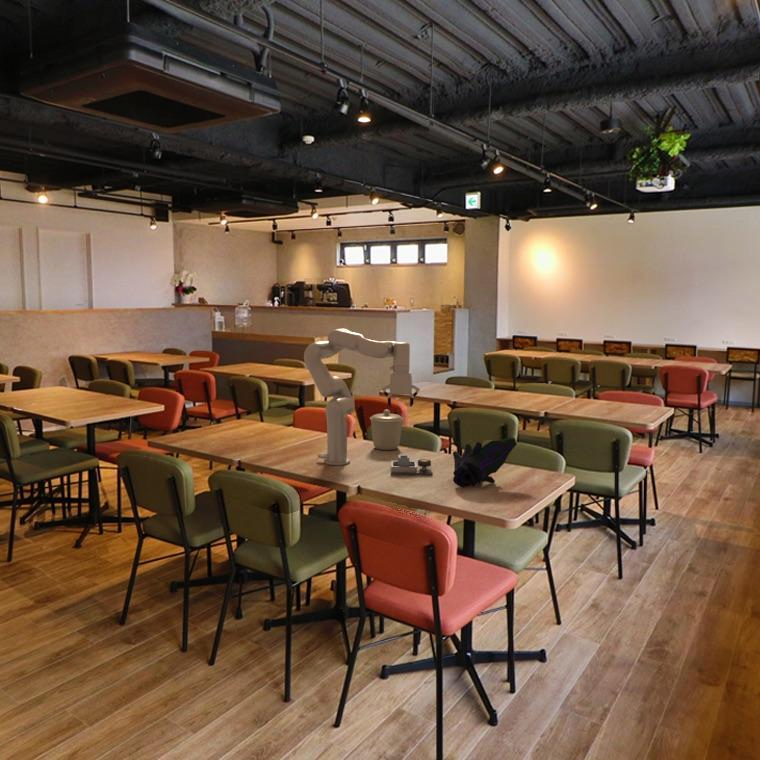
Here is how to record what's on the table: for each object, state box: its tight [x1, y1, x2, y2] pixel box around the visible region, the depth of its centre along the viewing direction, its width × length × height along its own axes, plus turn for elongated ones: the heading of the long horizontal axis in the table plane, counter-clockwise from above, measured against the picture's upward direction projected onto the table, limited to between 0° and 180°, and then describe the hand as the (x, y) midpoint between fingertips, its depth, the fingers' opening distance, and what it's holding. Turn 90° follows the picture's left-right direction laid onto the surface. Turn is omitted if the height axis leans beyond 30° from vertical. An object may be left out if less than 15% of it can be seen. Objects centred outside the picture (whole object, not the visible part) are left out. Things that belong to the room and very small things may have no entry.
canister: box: [369, 409, 405, 451], centre depth 336 cm, size 18×18×21 cm
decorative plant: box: [452, 437, 518, 488], centre depth 275 cm, size 21×26×30 cm
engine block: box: [397, 453, 410, 467], centre depth 291 cm, size 5×6×7 cm
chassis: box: [390, 460, 434, 477], centre depth 291 cm, size 19×12×4 cm, turn 90°
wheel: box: [417, 458, 432, 467], centre depth 291 cm, size 6×6×2 cm
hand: (400, 406), depth 290 cm, fingers open, 9 cm apart
